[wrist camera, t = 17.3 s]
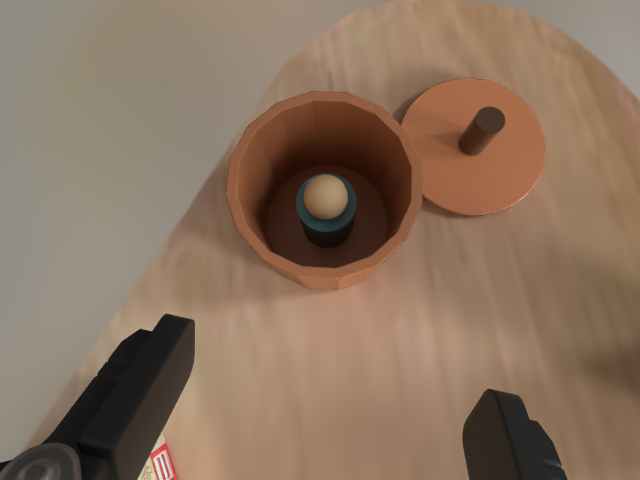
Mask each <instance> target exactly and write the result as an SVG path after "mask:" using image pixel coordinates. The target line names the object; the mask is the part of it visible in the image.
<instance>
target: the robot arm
mask: <svg viewBox="0 0 640 480" xmlns="http://www.w3.org/2000/svg"><path fill="white" fill-rule="evenodd" d="M194 357H195V322H194V320H192V319H187V318H183V317H179V316H174V315H170V314H165V315H164V316H163V317H162V318H161V319H160V321H159V322H158V324H157V325H156V327H155V328H154V329H153V331H152V332H151V331H147V330H143V329H139V330H138V331H136V332H135V333H133V334H132V335H131V336H129V337H128V338H126V339H125V340H123V341H122V342H121V343H120V344H119V346H118V347H117V348H116V350H115V351H114V352H113V354H112V355H111V356H110V358H109V360H108V362H106V363H105V364H104V365H103V367H102V368H101V369H100V371H99V372H98V375H97V376H96V377H94V379H93V380H92V381H91V383H90V384H89V385H88V387H87V388H86V389H85V391H84V392H83V393H82V395H81V396H80V397H79V398H78V400H77V401H76V402H75V404H74V405H73V406H72V408H71V409H70V410H69V412H68V413H67V414H66V416H65V417H64V418H63V420H62V421H61V422H60V424H59V425H58V426H57V428H56V429H55V430H54V431H53V433H52V434H51V435H50V436H49V437H48V438H47V439H46V440H45V441H44V442H43V443H41V444H40V445H38V446H35V447H33V448H30V449H28V450H26V451H25V452H23V453H21V454H20V455H18V456H17V457H15V458H14V459H13V460H9V461H6V462H2V463H0V480H138V478H139V476H140V474H141V472H142V470H143V468H144V466H145V464H146V462H147V460H148V458H149V456H150V454H151V452H152V450H153V448H154V446H155V444H156V442H157V440H158V438H159V436H160V434H161V432H162V430H163V428H164V426H165V424H166V422H167V420H168V418H169V416H170V414H171V412H172V410H173V408H174V407H175V405H176V403H177V401H178V399H179V397H180V395H181V393H182V391H183V389H184V387H185V385H186V383H187V381H188V379H189V376H190V374H191V371H192V367H193V363H194ZM462 440H463V448H464V453H465V459H466V464H467V470H468V475H469V480H567V477H566V475H565V472H564V470H563V469H562V468H561V465H562V464H561V462H560V459H559V457H558V454H557V452H556V449H555V447H554V444H553V442H552V441H551V439H550V438H549V436H548V435H547V434H546V432H545V431H544V430H543V428H542V427H541V426H540V424H539V423H538V422H537V421H533V420H529V417H528V414H527V411H526V409H525V406H524V403H523V401H522V399H521V398H520V397H519V396H518V395H514V394H510V393H505V392H501V391H497V390H492V389H487V390H486V391H485V392H484V393H483V395H482V396H481V398H480V400H479V401H478V403H477V404H476V406H475V407H474V409H473V410H472V412H471V413H470V415H469V416H468V418H467V420H466V421H465V424H464V428H463V436H462Z"/></svg>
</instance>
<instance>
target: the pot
mask: <svg viewBox="0 0 640 480" xmlns="http://www.w3.org/2000/svg"><path fill="white" fill-rule="evenodd" d="M322 173H331V174H336V175H339V176H341V177H343V178H344V179H346V180H347V181H348V182H349V183H350V184H351V186H352V187H353V189H354V191H355V193H356V197H357V208H356V213H355V218H354V222H353V227H352V231H351V233H350V235H349V237H348V238H347V239H346V240H345V241H344V242H343V243H342V244H340V245H338V246H336V247H331V248H324V247H320V246H317V245H315V244H314V243H312V242H311V241H310V240H309V239H308V238H307V236H306V235H305V232H304V230H303V227H302V224H301V221H300V219H299V216H298V213H297V210H296V196H297V193H298V190H299V189H300V187H301V186H302V184H303V183H304V182H305V181H306V180H308V179H309V178H311V177H312V176H315V175H317V174H322ZM422 177H423V167H422V164H421V162H420V159H419V157H418V155H417V152H416V150H415V148H414V145H413V143H412V141H411V138H410V136H409V133H408V132H407V131H406V130H405V129H404V128H403V127H402V126H401V125H400V124H399V123H398V122H397V121H396V120H395V119H394V118H393V117H392V116H391V115H390V114H389V113H388V112H387V111H386V110H385V109H384V108H383V107H381V106H379V105H376V104H374V103H371V102H369V101H367V100H364V99H362V98H359V97H357V96H355V95H352V94H350V93H347V92H321V91H311V92H307V93H304V94H301V95H298V96H296V97H293V98H290V99H287V100H284V101H281V102H278V103H276V104H274V105H273V106H272V107H270V108H269V109H268V110H267V111H266V112H264V113H263V114H262V115H261V116H260V117H258V118H257V119H256V120H255V121H253V122H252V123H251V124H250V125H249V126H248V127H247V128H246V130H245V132H244V134H243V135H242V137H241V139H240V141H239V143H238V145H237V146H236V148H235V150H234V152H233V154H232V155H231V157H230V159H229V169H228V178H227V187H226V197H227V201H228V204H229V207H230V210H231V213H232V217H233V220H234V223H235V226H236V229H237V231H238V233H239V234H240V235H241V236H242V237H243V238H244V240H245V241H246V242H247V243H248V244H249V245H250V246H251V248H252V249H253V250H254V251H255V252H256V253H257V255H258V256H259V257H260V258H261V259H262V260H263V261H265V262H266V263H267V264H269V265H270V266H271V267H273V268H274V269H275V270H277V271H278V272H279V273H281V274H282V275H283V276H284V277H286V278H288V279H290V280H292V281H294V282H296V283H298V284H300V285H302V286H304V287H306V288H308V289H318V290H340V289H343V288H346V287H349V286H352V285H354V284H357V283H360V282H363V281H364V280H365V279H366V278H367V277H369V276H370V275H371V274H372V273H373V272H374V271H375V270H376V269H377V268H378V267H380V266H381V265H382V264H383V263H384V262H385V261H386V260H387V259H388V258H389V257H390V256H391V254H392V253H393V252H394V251H395V250H396V249H397V248H398V247H399V246H400V245H401V244H402V243H403V242H404V241H405V240H406V239H407V237H408V234H409V232H410V230H411V228H412V226H413V223H414V221H415V219H416V217H417V214H418V212H419V210H420V208H421V206H422Z"/></svg>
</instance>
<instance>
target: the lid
mask: <svg viewBox="0 0 640 480" xmlns="http://www.w3.org/2000/svg"><path fill="white" fill-rule="evenodd" d="M401 126H402V127H403V128H404V129H405V130H406V131H407V132H408V133H409V136H410V138H411V141H412V143H413V145H414V148H415V150H416V152H417V155H418V157H419V159H420V162H421V164H422V167H423V177H422V196H423V197H424V198H425V199H426V200H428V201H429V202H431V203H432V204H434V205H436V206H438V207H440V208H442V209H444V210H447V211H450V212H453V213H457V214H462V215H486V214H492V213H495V212H499V211H501V210H504V209H506V208H508V207H510V206H512V205H513V204H515V203H517V202H518V201H519V200H521V199H522V198H523V197H524V196H526V195H527V193H528V192H529V191H530V190H531V189H532V188H533V186H534V185H535V183H536V182H537V180H538V178H539V176H540V174H541V171H542V168H543V165H544V160H545V140H544V135H543V131H542V128H541V126H540V123H539V121H538V119H537V117H536V116H535V114H534V112H533V111H532V110H531V109H530V107H529V106H528V105H527V104H526V103H525V102H524V101H523V100H522V99H521V98H520V97H519V96H517V95H516V94H515V93H513V92H512V91H510V90H509V89H507V88H505V87H503V86H501V85H499V84H496V83H493V82H490V81H486V80H481V79H471V78H468V79H456V80H450V81H447V82H443V83H441V84H438V85H436V86H434V87H432V88H430V89H428V90H427V91H425V92H424V93H423V94H421V95H420V96H419V97H418V98H417V99H416V100H415V101H414V102H413V103H412V105H411V106H410V107H409V109H408V110H407V112H406V114H405V116H404V118H403V120H402V123H401Z"/></svg>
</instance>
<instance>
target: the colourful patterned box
mask: <svg viewBox="0 0 640 480" xmlns="http://www.w3.org/2000/svg"><path fill="white" fill-rule="evenodd" d="M138 480H177V476H176V473H175V470H174V467H173V463H172V460H171V457H170V454H169V451H168V448H167V445H166V443H165V438H164V434H163V431H162V432H161V434H160V436H159V438H158V440H157V442H156V444H155V446H154V448H153V450H152V452H151V454H150V456H149V458H148V460H147V462H146V464H145V466H144V468H143V470H142V472H141V474H140V476H139V478H138Z"/></svg>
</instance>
